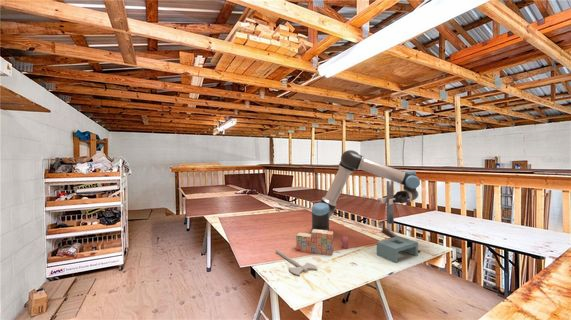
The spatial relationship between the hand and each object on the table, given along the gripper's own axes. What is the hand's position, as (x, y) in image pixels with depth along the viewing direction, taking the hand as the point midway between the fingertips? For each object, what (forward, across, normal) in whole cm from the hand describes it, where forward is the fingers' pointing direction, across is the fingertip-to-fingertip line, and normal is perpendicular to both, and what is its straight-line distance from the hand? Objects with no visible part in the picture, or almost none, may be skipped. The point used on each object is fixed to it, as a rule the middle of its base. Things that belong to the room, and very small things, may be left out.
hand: (385, 201), depth 134 cm
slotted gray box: (-31, +7, -32) cm, 45 cm away
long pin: (-5, 0, -13) cm, 14 cm away
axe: (+44, +31, -31) cm, 62 cm away
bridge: (-8, -3, -31) cm, 32 cm away
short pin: (+5, +24, -31) cm, 39 cm away
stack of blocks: (+23, +32, -31) cm, 51 cm away
